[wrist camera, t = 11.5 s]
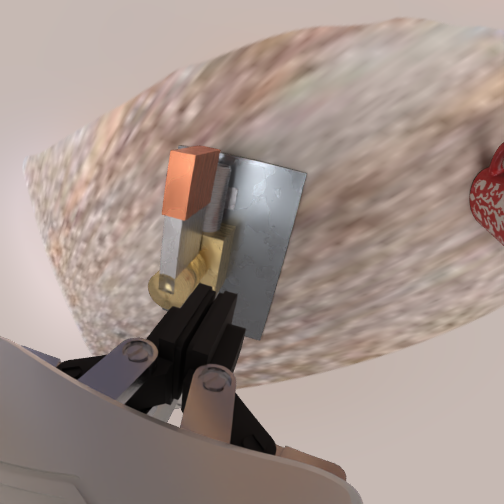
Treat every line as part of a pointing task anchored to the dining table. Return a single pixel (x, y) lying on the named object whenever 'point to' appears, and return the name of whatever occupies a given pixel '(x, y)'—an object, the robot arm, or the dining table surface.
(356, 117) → the dining table surface
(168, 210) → the lever
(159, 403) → the robot arm
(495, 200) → the mug
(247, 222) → the valve
